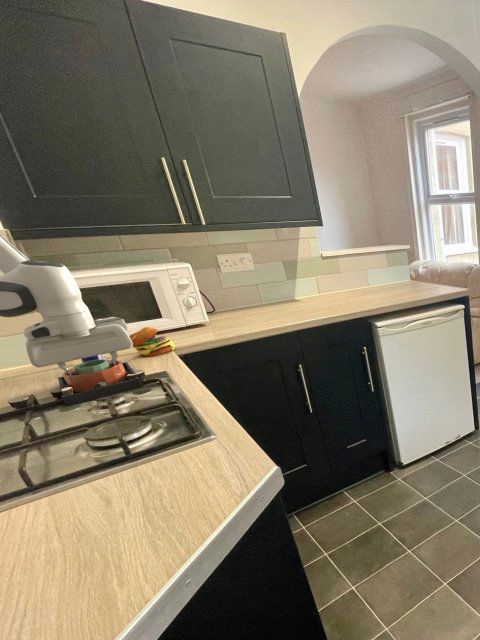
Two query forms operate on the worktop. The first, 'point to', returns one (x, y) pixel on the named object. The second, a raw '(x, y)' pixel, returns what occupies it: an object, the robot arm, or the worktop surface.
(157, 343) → the cheeseburger
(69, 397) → the tray
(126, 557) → the worktop surface
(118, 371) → the big bowl
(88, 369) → the small bowl
